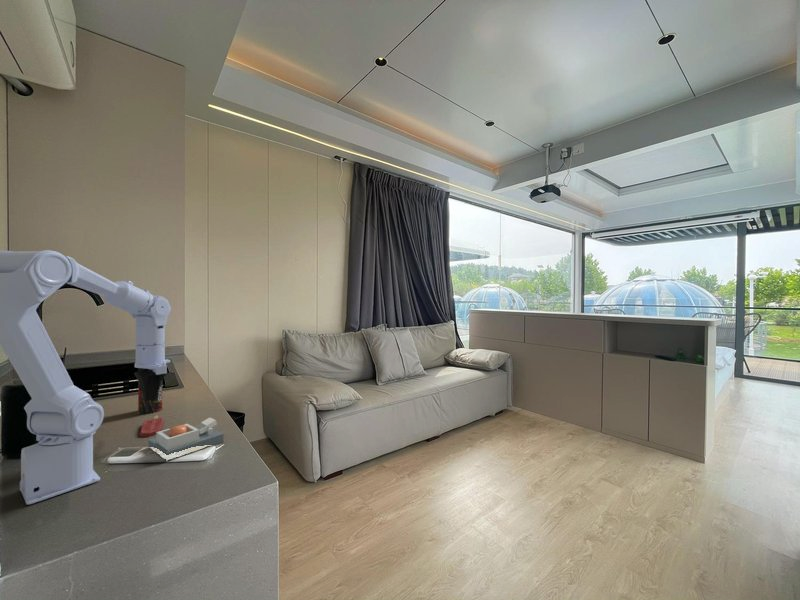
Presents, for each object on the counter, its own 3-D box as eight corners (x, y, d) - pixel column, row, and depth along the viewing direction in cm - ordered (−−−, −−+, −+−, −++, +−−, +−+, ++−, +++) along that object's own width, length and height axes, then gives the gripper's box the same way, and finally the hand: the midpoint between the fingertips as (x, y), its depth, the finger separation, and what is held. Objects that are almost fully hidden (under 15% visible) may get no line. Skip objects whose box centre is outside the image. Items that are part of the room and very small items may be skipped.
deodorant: (159, 412, 101) (158, 363, 101) (135, 415, 99) (135, 365, 98) (164, 406, 106) (164, 360, 106) (142, 408, 104) (142, 361, 104)
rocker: (201, 434, 79) (199, 429, 79) (194, 430, 81) (193, 426, 81) (217, 424, 82) (216, 419, 82) (210, 421, 84) (209, 416, 84)
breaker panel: (166, 461, 71) (166, 441, 71) (148, 447, 78) (148, 428, 77) (223, 442, 81) (223, 423, 81) (202, 431, 87) (202, 414, 87)
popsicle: (165, 411, 98) (160, 430, 85) (165, 417, 98) (160, 436, 85) (146, 414, 95) (138, 433, 83) (146, 420, 95) (138, 440, 83)
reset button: (172, 444, 74) (172, 431, 74) (167, 441, 76) (167, 428, 76) (188, 439, 77) (188, 427, 77) (182, 436, 79) (182, 423, 79)
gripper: (181, 345, 80) (181, 400, 80) (158, 340, 88) (158, 390, 88) (146, 348, 74) (146, 408, 74) (125, 343, 82) (125, 397, 82)
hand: (150, 399), depth 81 cm, fingers closed
